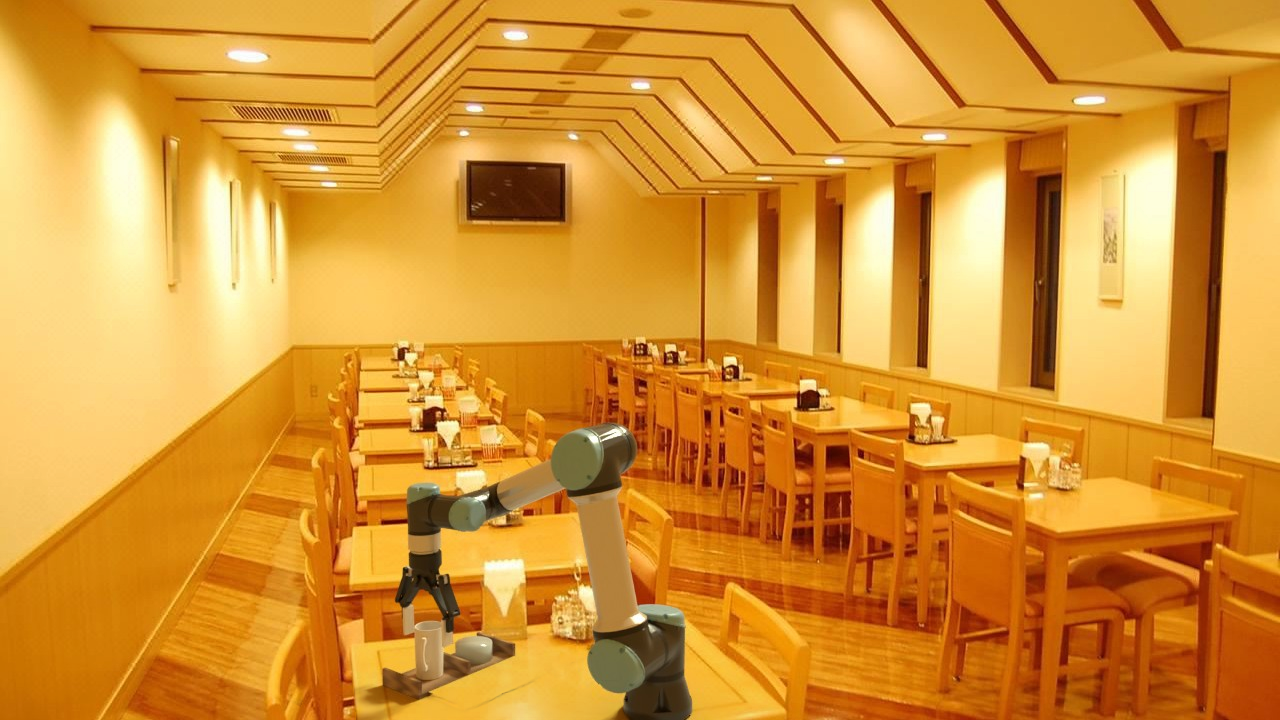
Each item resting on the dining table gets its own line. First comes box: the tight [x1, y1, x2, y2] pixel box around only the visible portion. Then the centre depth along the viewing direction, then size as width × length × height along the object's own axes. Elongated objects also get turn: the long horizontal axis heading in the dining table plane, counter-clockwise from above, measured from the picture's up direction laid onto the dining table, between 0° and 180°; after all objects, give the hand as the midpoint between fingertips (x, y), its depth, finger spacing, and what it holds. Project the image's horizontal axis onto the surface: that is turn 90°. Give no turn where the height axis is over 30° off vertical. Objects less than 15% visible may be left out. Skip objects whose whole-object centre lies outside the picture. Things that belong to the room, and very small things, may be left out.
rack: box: [381, 631, 516, 701], centre depth 244 cm, size 13×30×4 cm, turn 142°
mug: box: [414, 620, 444, 680], centre depth 237 cm, size 10×7×12 cm, turn 177°
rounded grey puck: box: [454, 635, 492, 666], centre depth 249 cm, size 9×9×4 cm
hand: (427, 639), depth 237 cm, fingers open, 13 cm apart
